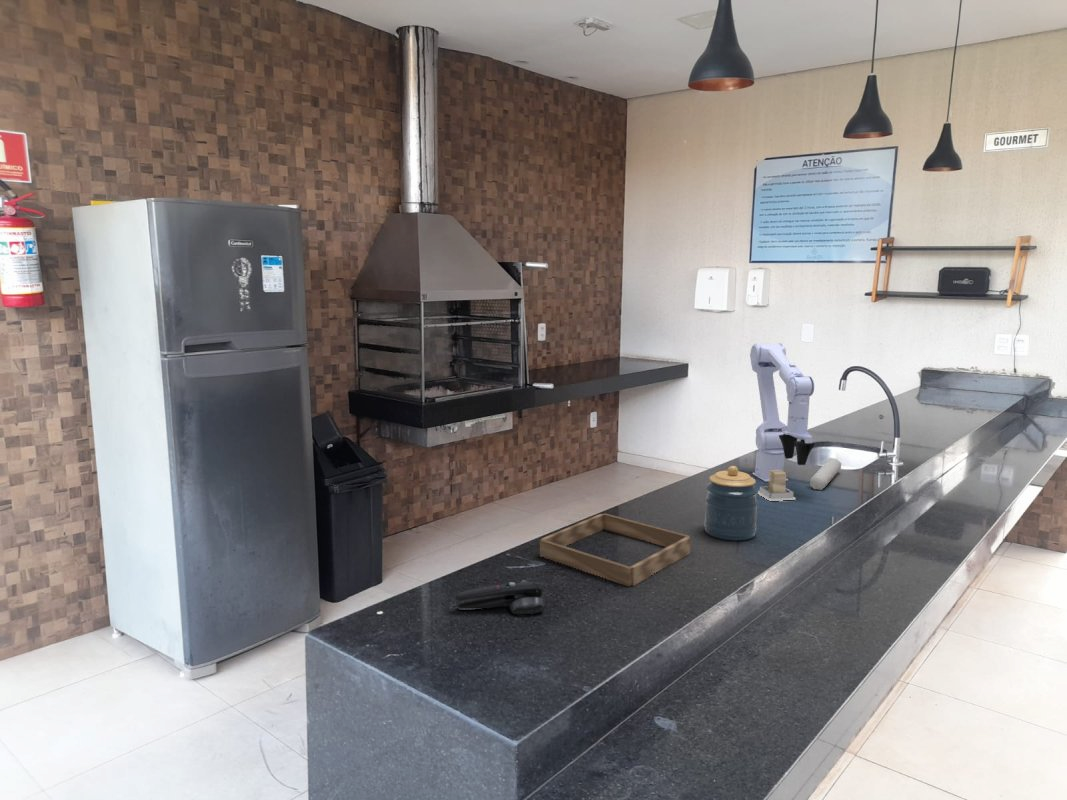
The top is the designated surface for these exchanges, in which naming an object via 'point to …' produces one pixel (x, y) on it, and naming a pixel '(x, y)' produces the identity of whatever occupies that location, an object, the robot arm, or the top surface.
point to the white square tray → (768, 494)
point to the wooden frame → (613, 571)
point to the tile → (775, 499)
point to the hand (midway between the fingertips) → (794, 461)
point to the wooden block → (777, 481)
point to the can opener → (506, 597)
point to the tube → (825, 474)
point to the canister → (731, 505)
